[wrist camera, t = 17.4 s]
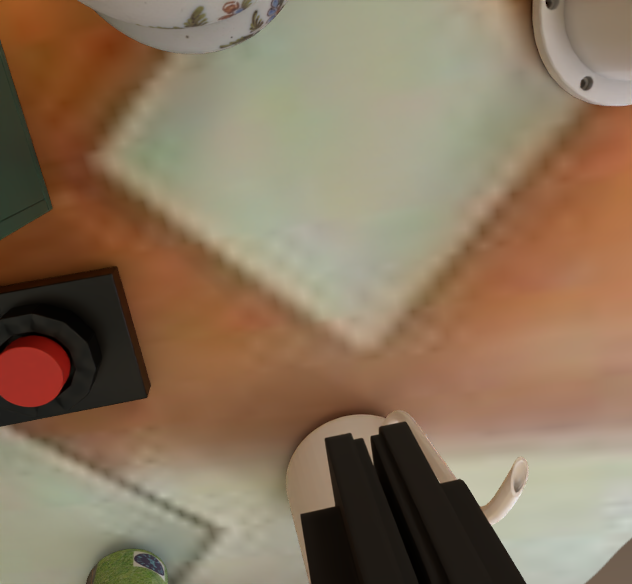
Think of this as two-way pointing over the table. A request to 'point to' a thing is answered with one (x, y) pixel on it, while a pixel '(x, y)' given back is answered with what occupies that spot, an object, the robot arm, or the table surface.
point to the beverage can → (129, 569)
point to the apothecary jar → (188, 21)
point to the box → (17, 162)
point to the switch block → (77, 340)
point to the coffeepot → (314, 476)
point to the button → (33, 371)
